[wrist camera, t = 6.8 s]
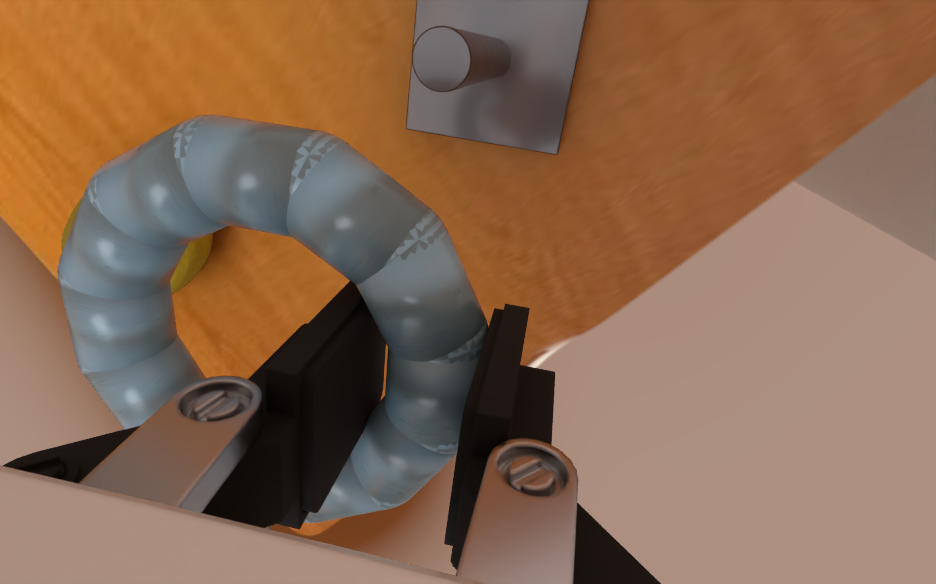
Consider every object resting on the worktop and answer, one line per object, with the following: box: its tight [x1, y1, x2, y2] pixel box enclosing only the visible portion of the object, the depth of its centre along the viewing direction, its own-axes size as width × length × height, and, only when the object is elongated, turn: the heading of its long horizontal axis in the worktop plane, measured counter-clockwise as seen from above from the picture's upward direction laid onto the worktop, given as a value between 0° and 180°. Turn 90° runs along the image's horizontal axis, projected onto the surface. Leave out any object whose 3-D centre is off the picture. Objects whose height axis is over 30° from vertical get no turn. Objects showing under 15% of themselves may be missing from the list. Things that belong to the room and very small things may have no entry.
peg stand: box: [406, 0, 589, 155], centre depth 24 cm, size 9×9×14 cm
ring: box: [58, 115, 488, 523], centre depth 12 cm, size 9×9×2 cm
